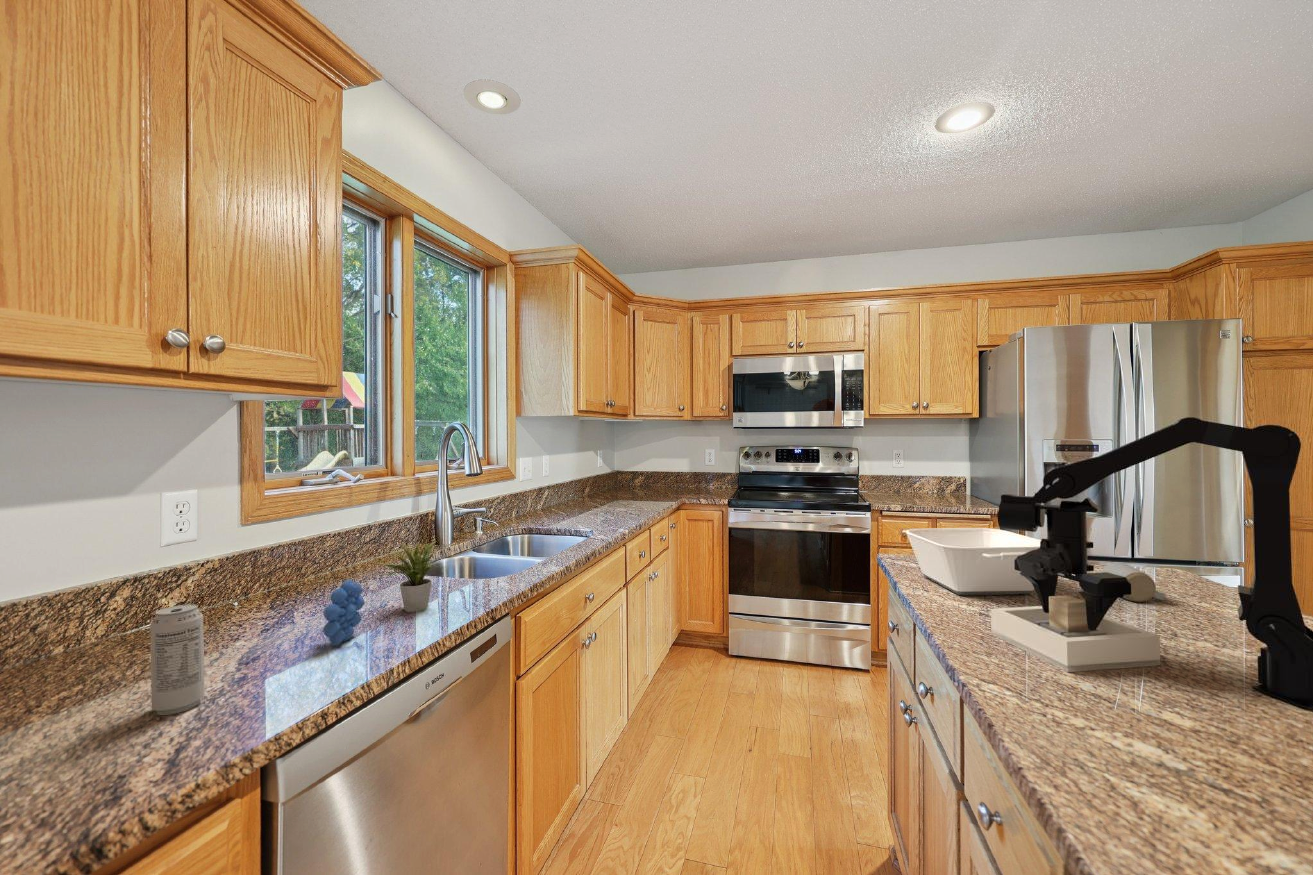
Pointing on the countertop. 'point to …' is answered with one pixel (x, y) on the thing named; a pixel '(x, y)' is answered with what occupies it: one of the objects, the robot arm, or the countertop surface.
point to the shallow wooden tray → (1076, 641)
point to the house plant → (414, 578)
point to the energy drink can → (177, 659)
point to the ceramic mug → (1135, 582)
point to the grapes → (343, 612)
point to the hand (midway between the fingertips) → (1068, 620)
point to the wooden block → (1068, 614)
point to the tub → (973, 559)
